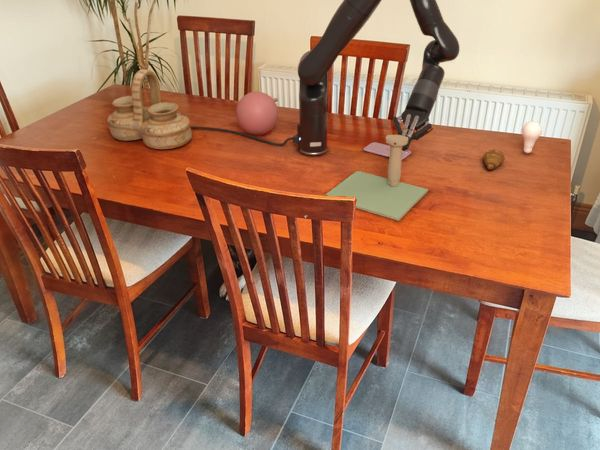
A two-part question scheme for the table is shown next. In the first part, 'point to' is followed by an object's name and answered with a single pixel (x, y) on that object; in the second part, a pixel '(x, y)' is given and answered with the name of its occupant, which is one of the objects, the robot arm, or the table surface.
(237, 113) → the balloon
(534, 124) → the lightbulb
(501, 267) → the table surface
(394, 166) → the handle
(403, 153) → the mobile phone
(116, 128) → the ceramic vessel
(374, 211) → the mat
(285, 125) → the table surface
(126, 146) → the table surface
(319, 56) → the robot arm
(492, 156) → the croissant
